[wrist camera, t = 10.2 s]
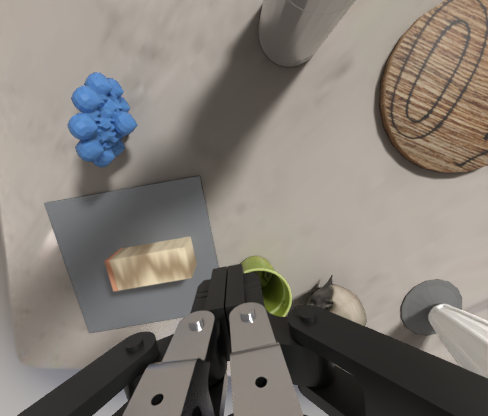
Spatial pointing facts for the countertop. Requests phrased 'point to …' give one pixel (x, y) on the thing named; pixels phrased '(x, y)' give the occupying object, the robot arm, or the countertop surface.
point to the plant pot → (270, 285)
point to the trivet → (440, 89)
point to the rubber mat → (127, 235)
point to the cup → (448, 323)
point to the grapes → (100, 120)
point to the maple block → (151, 264)
